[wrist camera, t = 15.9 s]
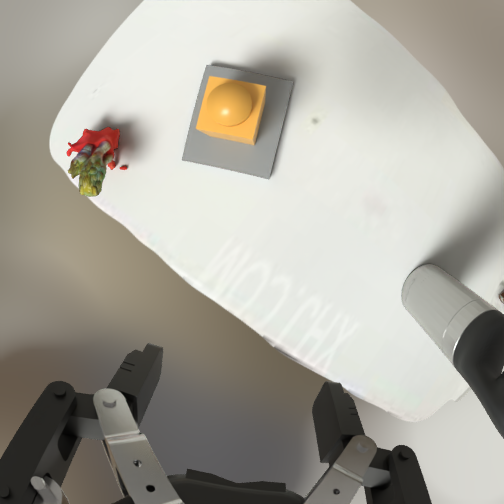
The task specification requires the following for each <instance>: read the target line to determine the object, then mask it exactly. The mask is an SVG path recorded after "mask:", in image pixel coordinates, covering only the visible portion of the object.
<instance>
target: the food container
mask: <svg viewBox="0 0 504 504" xmlns="http://www.w3.org/2000/svg"><path fill="white" fill-rule="evenodd" d="M499 299H500V300H501V302H502V303H503V304H504V290H503V291H502V292H501V293H500V294H499Z"/></svg>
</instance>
